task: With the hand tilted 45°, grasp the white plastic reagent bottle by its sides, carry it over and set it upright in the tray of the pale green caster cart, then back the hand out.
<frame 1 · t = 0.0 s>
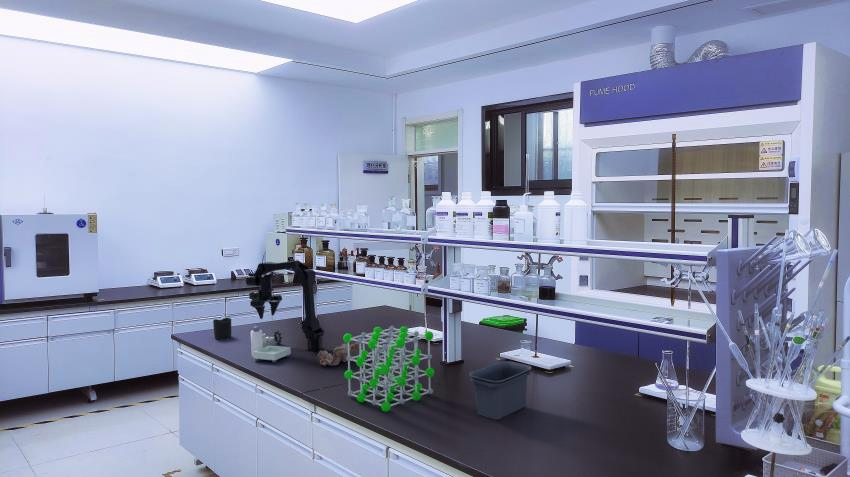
hand: (267, 317, 295), 15 cm above the counter, fingers open, 9 cm apart
reagent bottle: (257, 355, 277), on the counter
caster cart: (272, 359, 270), on the counter
storage bin: (499, 411, 197), on the counter
molecular structure model: (389, 397, 214), on the counter
valve: (268, 346, 296), on the counter
mineral formation: (340, 362, 262), on the counter
pen holder: (223, 338, 316), on the counter
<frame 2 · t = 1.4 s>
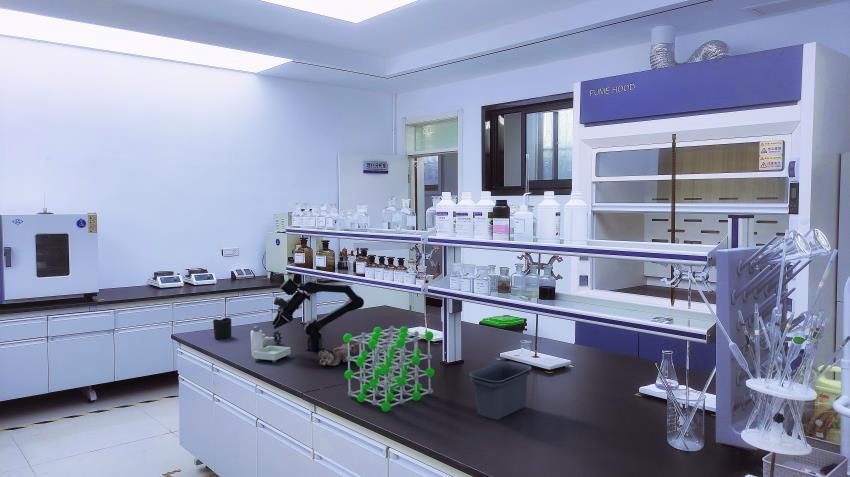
hand: (273, 326, 278), 13 cm above the counter, fingers open, 9 cm apart
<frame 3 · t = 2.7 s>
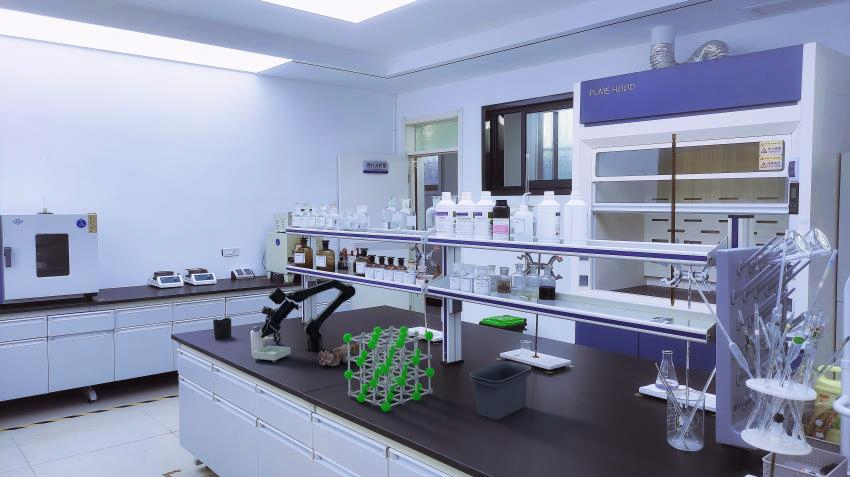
hand: (260, 335, 277), 10 cm above the counter, fingers open, 9 cm apart
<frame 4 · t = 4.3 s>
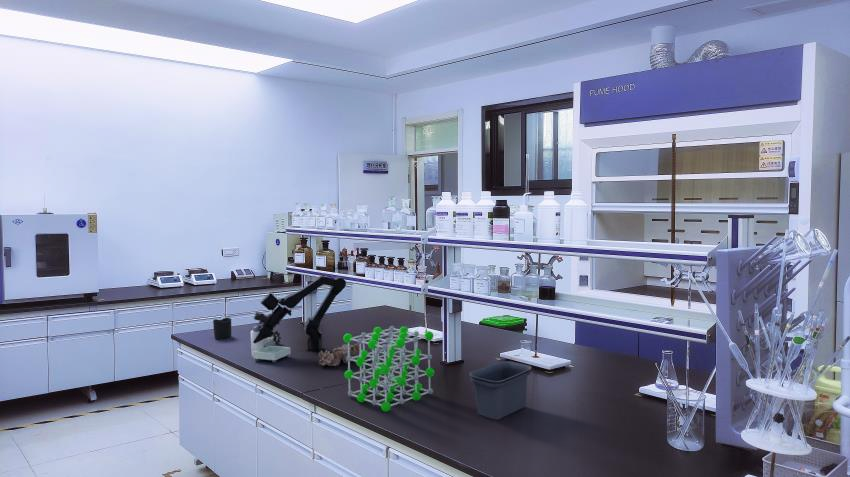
hand: (253, 341, 276), 7 cm above the counter, fingers closed on reagent bottle, 5 cm apart
reagent bottle: (257, 355, 277), on the counter, touching gripper
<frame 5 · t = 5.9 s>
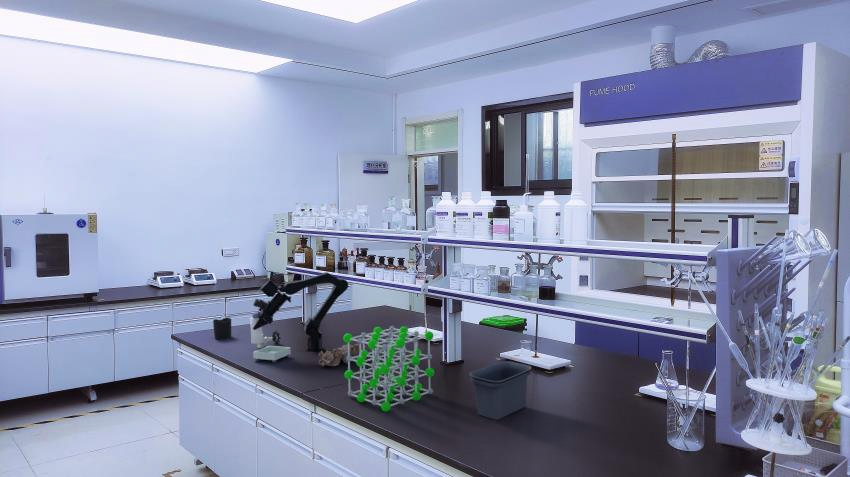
hand: (253, 328, 275), 13 cm above the counter, fingers closed on reagent bottle, 5 cm apart
reagent bottle: (257, 342, 276), point 6 cm above the counter, touching gripper
when the fingers open (11 cm above the counter, at t = 7.9 s): reagent bottle drops 1 cm, resting on caster cart.
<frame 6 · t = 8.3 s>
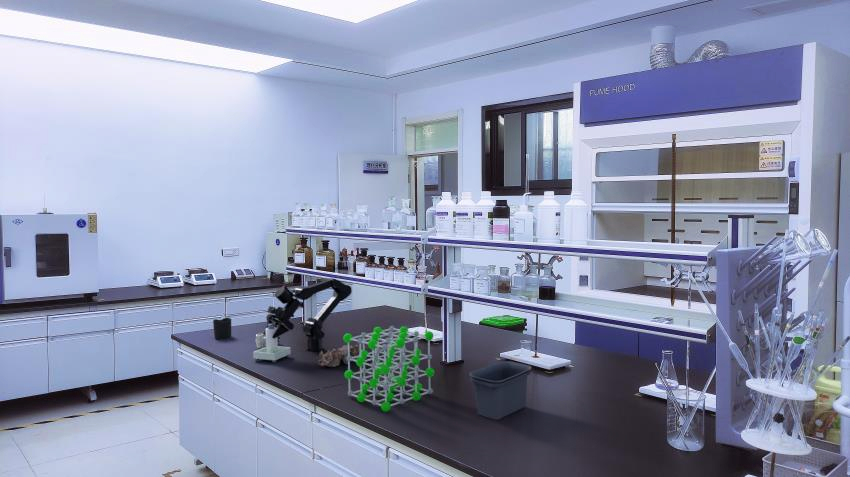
hand: (268, 336, 268), 11 cm above the counter, fingers open, 9 cm apart
reagent bottle: (272, 353, 269), point 3 cm above the counter, touching caster cart
caster cart: (272, 359, 270), on the counter, touching reagent bottle
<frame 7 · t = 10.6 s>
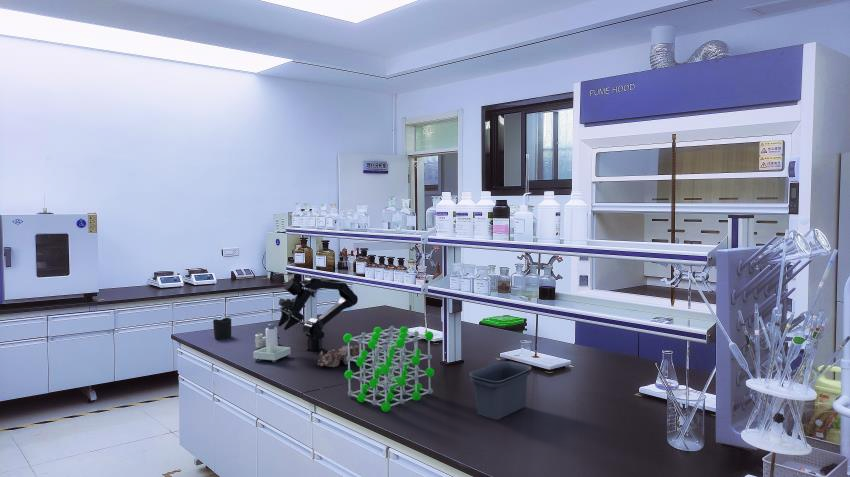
hand: (281, 327, 275), 13 cm above the counter, fingers open, 9 cm apart
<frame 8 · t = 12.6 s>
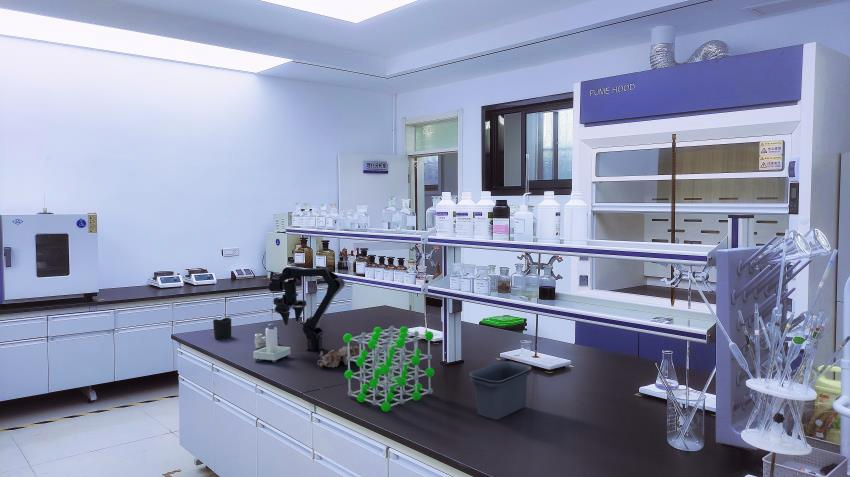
hand: (291, 323, 287), 13 cm above the counter, fingers open, 9 cm apart
at the end: reagent bottle 0.1 cm off-centre on the caster cart, point 2.5 cm above the caster cart's base; reagent bottle tilted 0°; caster cart moved 0.0 cm from its start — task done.
